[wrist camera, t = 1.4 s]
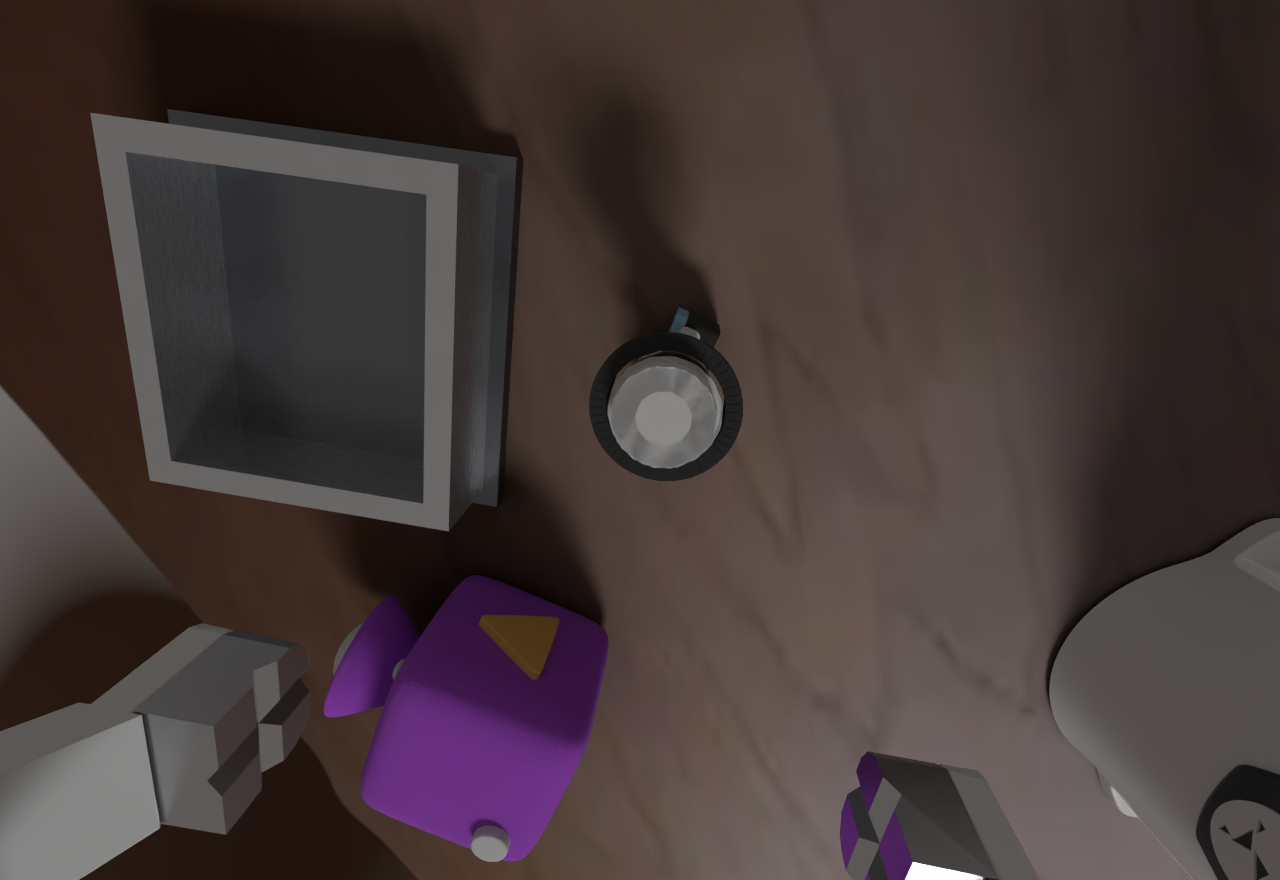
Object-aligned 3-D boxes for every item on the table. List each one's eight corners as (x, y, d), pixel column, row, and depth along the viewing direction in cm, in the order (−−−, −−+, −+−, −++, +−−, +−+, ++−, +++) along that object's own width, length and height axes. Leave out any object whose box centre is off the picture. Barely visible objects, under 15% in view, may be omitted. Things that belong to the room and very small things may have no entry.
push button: (692, 449, 31) (688, 545, 21) (596, 408, 30) (549, 488, 21) (750, 329, 28) (773, 378, 19) (646, 284, 28) (618, 312, 19)
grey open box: (523, 160, 27) (480, 143, 22) (502, 499, 33) (465, 549, 28) (185, 113, 28) (66, 86, 23) (223, 452, 33) (136, 493, 28)
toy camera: (390, 536, 34) (272, 652, 25) (622, 591, 34) (591, 730, 25) (380, 682, 38) (274, 831, 29) (589, 734, 38) (551, 900, 28)
